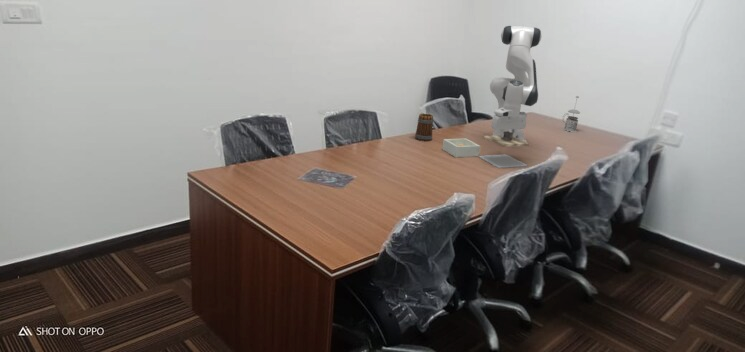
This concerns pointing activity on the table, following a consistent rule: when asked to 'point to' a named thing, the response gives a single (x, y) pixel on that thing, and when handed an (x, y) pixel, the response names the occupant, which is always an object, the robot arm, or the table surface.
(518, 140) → the lid
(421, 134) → the mug
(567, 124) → the french press
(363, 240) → the table surface
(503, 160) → the mat
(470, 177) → the table surface
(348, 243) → the table surface
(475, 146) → the pale green open box
